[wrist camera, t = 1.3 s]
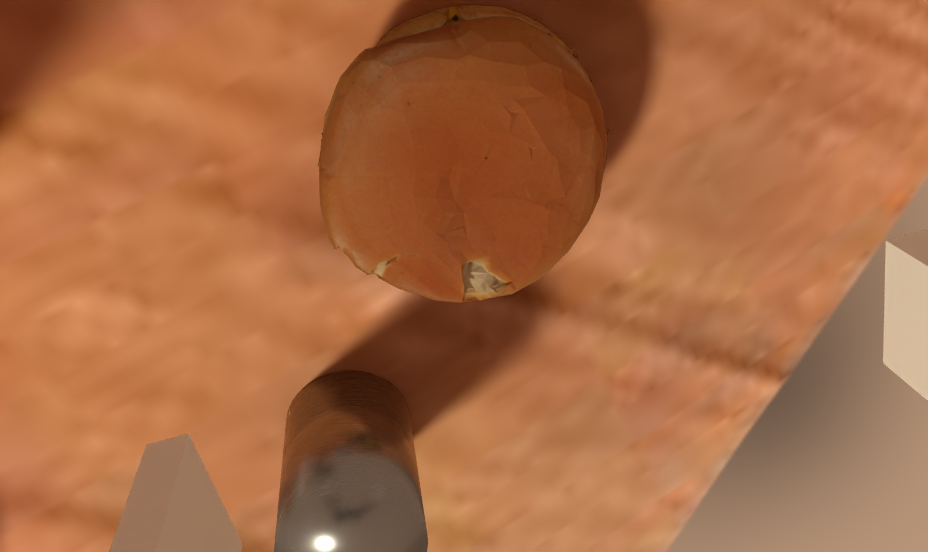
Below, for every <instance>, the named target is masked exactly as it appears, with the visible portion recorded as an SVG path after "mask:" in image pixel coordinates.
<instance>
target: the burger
mask: <svg viewBox="0 0 928 552" xmlns="http://www.w3.org/2000/svg"><path fill="white" fill-rule="evenodd" d="M573 51H574V49H569V48H568V47H567V45H566V44H565V43H564V42H563V41H562V40H560V39H559V38H558V37H557V36H556V34H554V33H553V32H552V31H550V30H549V29H547V28H546V27H544V26H543V25H541V24H540V23H539V22H537V21H535V20H533V19H531V18H529V17H527V16H526V15H524V14H521V13H518V12H516V11H513V10H510V9H507V8H503V7H499V6H483V5H476V4H472V5H455V6H450V7H445V8H442V9H438V10H435V11H432V12H429V13H427V14H424V15H421V16H418V17H415V18H412V19H410V20H408V21H406V22H403V23H401V24H399V25H398V26H396V27H395V28H393V29H392V30H390V31H389V32H388V33H387V34H386V35H385V36H384V37H383V38H382V39H381V41H380V42H379V43H378V44H377V45H376V46H375V47H374V48H369V49H365V50H364V51H363V52H362V53H360V54H359V55H358V56H357V57H356V59H355V60H354V61H353V62H352V63H351V65H350V66H349V67H348V68H347V70H346V71H345V72H344V73H343V74H342V76H341V77H340V79H339V81H338V83H337V86H336V88H335V91H334V94H333V97H332V100H331V102H330V105H329V107H328V109H327V112H326V114H325V123H324V129H323V133H322V140H321V151H320V158H319V163H318V165H317V166H319V193H320V204H321V211H322V217H323V221H324V225H325V228H326V231H327V234H328V237H329V240H330V241H331V243H332V245H333V246H334V248H335V249H337V248H338V247H340V248H341V249H342V251H343V252H344V253H345V254H346V255H347V256H348V257H349V258H350V260H351V261H352V262H353V263H354V265H355V266H356V267H357V268H359V269H360V270H362V271H363V272H365V273H366V274H376V275H377V276H378V277H379V278H380V279H382V280H383V281H385V282H387V283H389V284H391V285H393V286H394V287H396V288H399V289H402V290H405V291H408V292H411V293H414V294H417V295H419V296H422V297H425V298H428V299H431V300H434V301H446V302H460V303H463V302H473V301H480V300H483V299H487V298H493V297H499V296H505V295H511V294H513V293H515V292H517V291H519V290H521V289H523V288H525V287H526V286H528V285H530V284H532V283H534V282H535V281H537V280H539V279H540V278H542V277H543V276H544V275H545V274H546V273H547V272H548V271H549V270H550V269H551V268H552V267H553V266H554V265H555V264H556V263H557V262H558V261H559V260H560V259H561V258H562V257H563V256H564V255H565V254H566V253H567V252H568V251H569V250H570V248H571V247H572V245H573V244H574V242H575V241H576V239H577V238H578V236H579V235H580V233H581V232H582V230H583V229H584V227H585V226H586V225H587V223H588V222H589V219H590V217H591V215H592V213H593V211H594V208H595V206H596V204H597V202H598V199H599V197H600V191H601V184H602V178H603V173H604V168H605V164H606V159H607V135H608V131H609V129H607V130H606V125H605V120H604V114H603V109H602V106H601V103H600V101H599V98H598V96H597V93H596V91H595V89H594V87H593V85H592V83H591V82H592V81H591V79H590V78H589V76H588V75H587V73H586V72H585V70H584V69H583V68H582V66H581V65H580V64H579V62H578V56H576V55H574V54H573Z"/></svg>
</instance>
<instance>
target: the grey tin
mask: <svg viewBox="0 0 928 552" xmlns="http://www.w3.org/2000/svg"><path fill="white" fill-rule="evenodd" d="M427 547H428V538H427V530H426V523H425V516H424V509H423V503H422V496H421V489H420V482H419V475H418V468H417V462H416V455H415V448H414V441H413V434H412V427H411V421H410V414H409V409H408V406H407V403H406V401H405V399H404V397H403V396H402V394H401V393H400V392H399V390H398V389H397V388H396V387H395V386H393V385H392V384H391V383H390V382H388V381H387V380H385V379H383V378H381V377H379V376H376V375H374V374H371V373H366V372H361V371H341V372H335V373H331V374H327V375H325V376H322V377H320V378H318V379H316V380H314V381H312V382H311V383H309V384H308V385H306V386H305V387H304V388H303V389H302V390H301V391H300V392H299V393H298V394H297V395H296V397H295V398H294V399H293V401H292V403H291V405H290V407H289V410H288V413H287V419H286V428H285V439H284V450H283V460H282V471H281V482H280V493H279V503H278V514H277V525H276V536H275V546H274V552H427Z"/></svg>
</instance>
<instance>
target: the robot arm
mask: <svg viewBox="0 0 928 552" xmlns="http://www.w3.org/2000/svg"><path fill="white" fill-rule="evenodd" d="M884 306H885V307H884V350H883V352H884V354H883V363H884V364H885V365H886V366H887V367H888V368H890V369H891V370H892V371H893V372H894V373H896V374H897V375H898V376H899V377H900V378H902V379H903V380H904V381H905V382H906V383H907V384H909V385H910V386H911V387H912V388H914V389H915V390H916V391H917V392H918V393H920V395H922V396H923V397H924V398H925V399H926V400H928V231H927V230H923V231H919V232H915V233H911V234H908V235H904V236H901V237H897V238H894V239H890V240H886V262H885V305H884ZM241 550H242V542H241V540H240V538H239V536H238V534H237V531H236V529H235V527H234V525H233V523H232V521H231V519H230V517H229V515H228V513H227V511H226V509H225V507H224V505H223V503H222V501H221V499H220V497H219V495H218V493H217V491H216V489H215V487H214V485H213V482H212V480H211V478H210V476H209V474H208V472H207V470H206V468H205V466H204V464H203V462H202V460H201V458H200V456H199V454H198V452H197V450H196V448H195V446H194V444H193V442H192V440H191V438H190V436H189V434H184V435H181V436H177V437H174V438H170V439H166V440H163V441H159V442H156V443H152V444H148V445H146V448H145V451H144V453H143V456H142V459H141V462H140V465H139V468H138V471H137V473H136V476H135V479H134V482H133V485H132V488H131V491H130V493H129V496H128V499H127V502H126V505H125V508H124V511H123V513H122V516H121V519H120V522H119V525H118V528H117V531H116V533H115V536H114V539H113V542H112V545H111V548H110V551H109V552H241Z"/></svg>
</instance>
